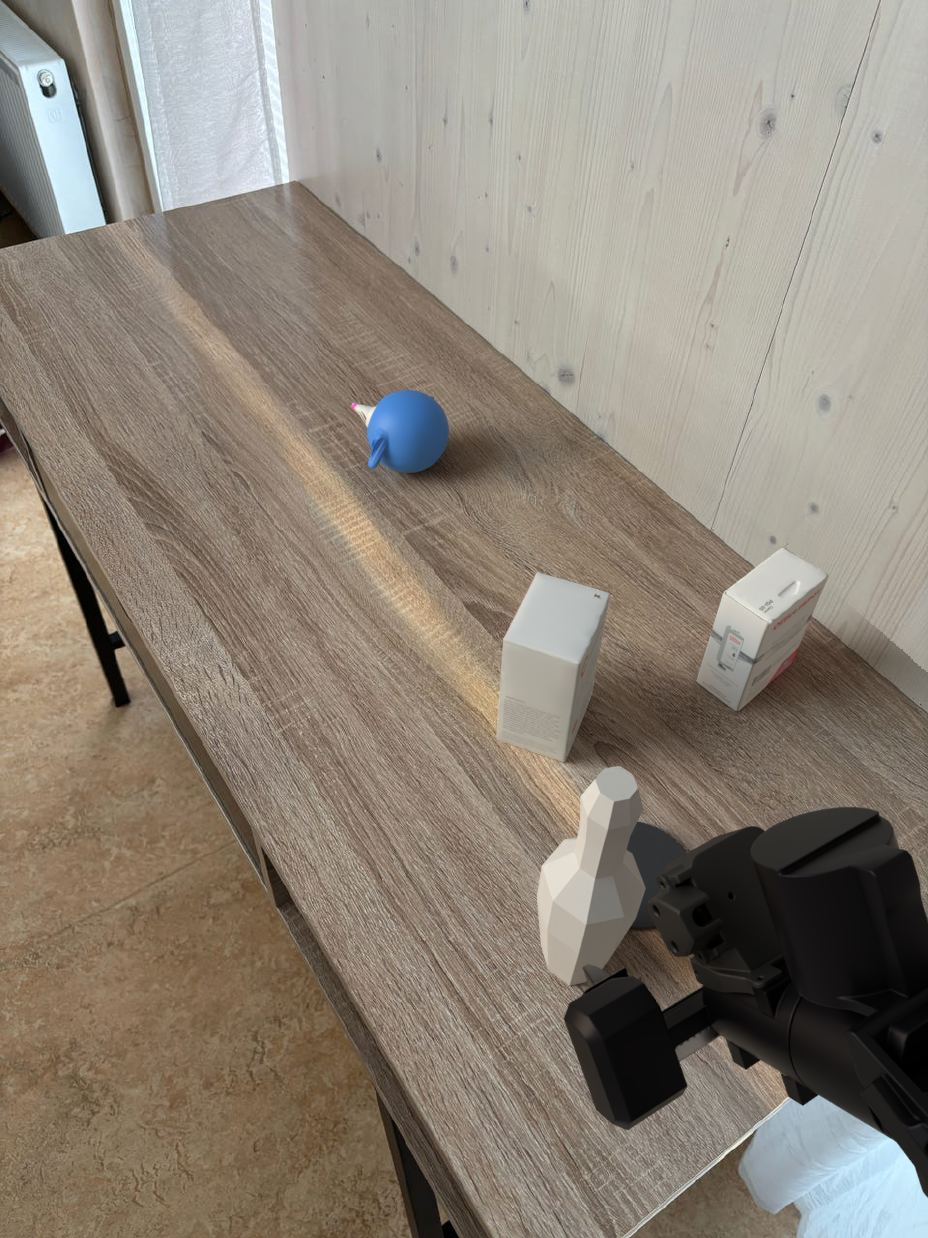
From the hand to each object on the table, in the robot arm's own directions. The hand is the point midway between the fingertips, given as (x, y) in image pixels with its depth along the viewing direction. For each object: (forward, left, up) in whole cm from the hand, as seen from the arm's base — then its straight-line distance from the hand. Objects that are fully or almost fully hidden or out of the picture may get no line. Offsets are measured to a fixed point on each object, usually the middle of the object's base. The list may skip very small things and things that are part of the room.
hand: (651, 936), depth 60 cm
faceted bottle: (+5, +1, -13) cm, 14 cm away
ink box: (+23, -25, -13) cm, 37 cm away
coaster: (+9, -6, -13) cm, 17 cm away
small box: (+25, -6, -13) cm, 29 cm away
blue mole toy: (+63, -6, -13) cm, 65 cm away
